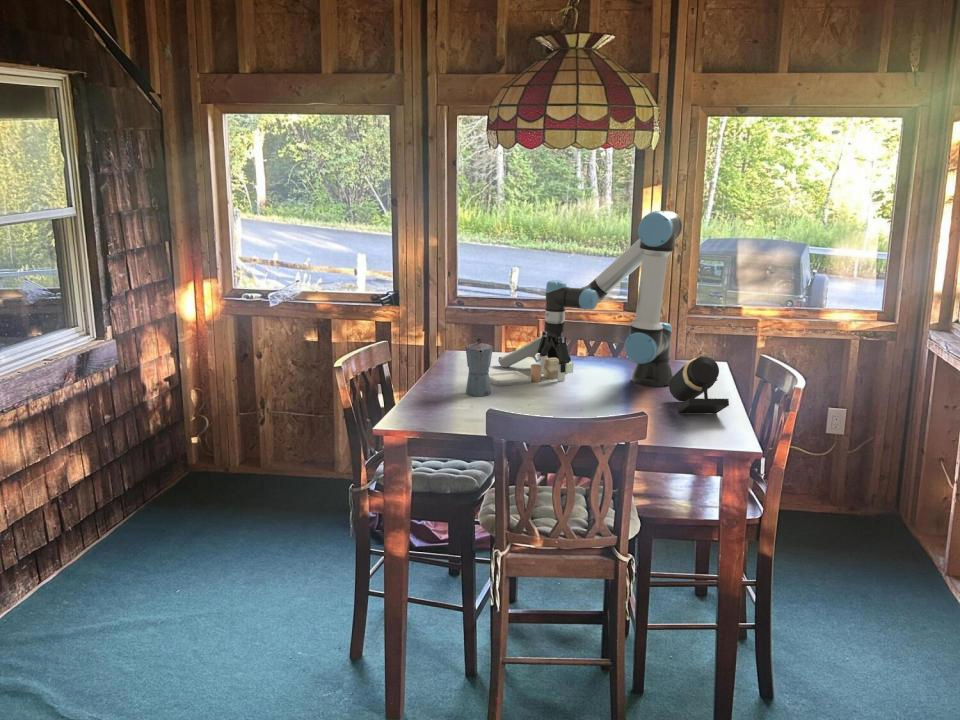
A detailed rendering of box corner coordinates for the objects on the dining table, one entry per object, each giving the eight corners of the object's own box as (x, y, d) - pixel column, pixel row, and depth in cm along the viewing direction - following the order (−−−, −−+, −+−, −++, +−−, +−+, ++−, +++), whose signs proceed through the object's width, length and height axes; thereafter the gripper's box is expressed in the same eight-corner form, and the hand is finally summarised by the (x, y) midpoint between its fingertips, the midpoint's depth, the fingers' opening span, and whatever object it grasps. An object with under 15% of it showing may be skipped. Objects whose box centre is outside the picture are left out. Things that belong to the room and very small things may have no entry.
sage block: (573, 372, 352) (573, 362, 352) (566, 374, 350) (567, 364, 349) (565, 370, 355) (565, 360, 354) (558, 372, 352) (559, 362, 352)
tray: (531, 382, 335) (531, 377, 334) (497, 386, 329) (497, 381, 328) (516, 375, 345) (516, 370, 345) (483, 378, 339) (483, 373, 339)
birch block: (561, 378, 343) (562, 360, 341) (550, 379, 341) (550, 361, 339) (554, 375, 347) (555, 357, 346) (543, 376, 345) (544, 358, 344)
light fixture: (700, 372, 317) (724, 352, 292) (704, 421, 312) (729, 405, 288) (664, 371, 316) (685, 352, 291) (667, 421, 312) (689, 405, 287)
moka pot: (467, 399, 311) (468, 342, 306) (461, 387, 325) (462, 333, 321) (494, 398, 312) (496, 342, 308) (487, 387, 327) (488, 333, 322)
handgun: (576, 360, 353) (558, 327, 351) (514, 391, 359) (497, 359, 356) (576, 358, 357) (559, 325, 355) (515, 389, 363) (497, 356, 360)
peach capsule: (542, 381, 337) (543, 366, 335) (533, 382, 335) (534, 367, 334) (537, 379, 340) (538, 363, 339) (528, 380, 339) (529, 364, 337)
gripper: (530, 316, 349) (528, 370, 353) (562, 328, 327) (560, 385, 332) (547, 315, 352) (544, 368, 357) (580, 326, 330) (577, 383, 335)
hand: (552, 376), depth 344 cm, fingers open, 12 cm apart
